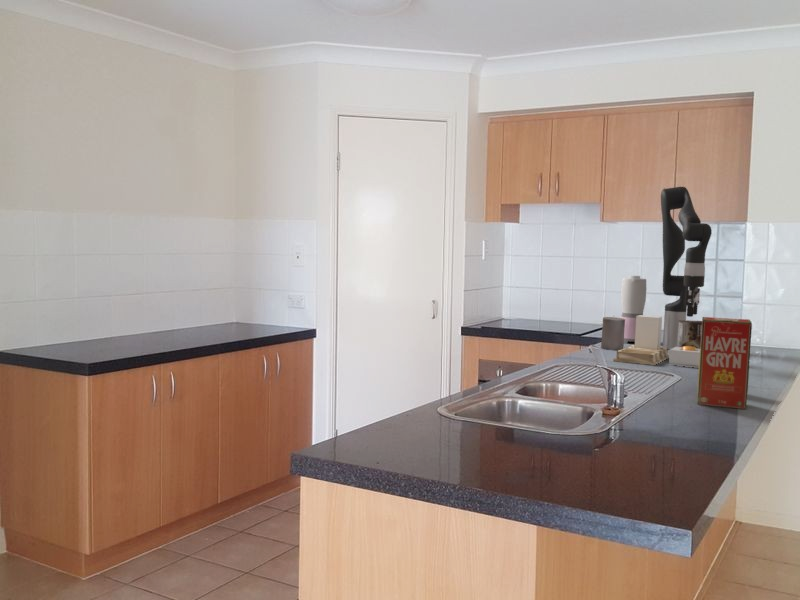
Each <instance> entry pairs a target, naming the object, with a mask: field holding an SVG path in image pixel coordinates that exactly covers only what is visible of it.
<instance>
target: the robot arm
mask: <svg viewBox="0 0 800 600" xmlns="http://www.w3.org/2000/svg"><path fill="white" fill-rule="evenodd" d="M660 206H661V216H662V218H661V219H662V257H663V260H662V261H663V269H662V270H663V271H662V292H663V294H664V295H665V296H669V297H671V296H672V297H679V298H678V299H677V300H676V301H673V302H670V303H666V304H665V306H664V318H663V319H664V320H663V337H662V348H668V350H670V349H672V348H674V347H677V346H678V327H679V320H687V317H690V318H691V317H693V316H695V315H697V314H698V308H699V307H698V306H699V304H700V293H701V289H700V288H704V286H705V276H706V274H705V273H706V266H705V265H706V263H705V261H706V252H707V248H708V245H709V242H710V239H711V237H712V230H713V229H712V227H711V225H710V224H709V223H702V222H701V218H700V217H699V215H698V214H697V213H696V211H695V210H696V209H695V208H694V205H693V202H692V198H691V195H690V193H689V190H688V188H687V187H686V186H675V187H669V188H663V189H662V190H661V193H660ZM671 210H679V212H678V221H679V223H680V225H681V226H682V229H681V228H680V227H679V226H678V225H677V223H676V221H675V220H674V219H673V217H672V215H671ZM687 241H688V242H699V243H698V244H697V245H696V246H691V247H688V248H686V242H687ZM685 250H686V251H685ZM684 253H685V264H684V270H683V271H684V274H683V275H677V274H676V275H672V271H673V269H674V267H675V265H677V263H678V261H679V260H680V259H681V257H682V256H683V255H684Z"/></svg>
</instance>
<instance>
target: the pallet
mask: <svg viewBox="0 0 800 600" xmlns="http://www.w3.org/2000/svg"><path fill="white" fill-rule="evenodd" d="M668 353H669V349H668V348H663V346H660V350H652V349H641V348H635V344H632V345H630V346H627V347H625V348H624V347H623V349H621V350H616V357H614V358H613V362H619V363H620V362H621V363H627V364H635V363H640V364H639V365H645V364H650V365H649V366H654V365H655V366H657V365H659V364H660V362H661V363H663V362H665V361H667V360H669V359H668V358H669V354H668ZM666 359H667V360H666ZM664 360H665V361H664ZM662 361H663V362H662ZM658 363H659V364H658ZM656 364H657V365H656Z"/></svg>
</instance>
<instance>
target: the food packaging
mask: <svg viewBox="0 0 800 600" xmlns="http://www.w3.org/2000/svg"><path fill="white" fill-rule="evenodd" d="M701 321H702V329H701V344H700V358H699V368H698V372H697V385H696V386H697V387H696V389H697V390H696V391H697V393H696V400H697V405H698V406H706V407H707V406H710V407H715V408H727V409H739V410H747V400H748V392H749V376H750V374H749V373H750V359H751V356H750V355H751V344H752V343H751V341H752V329H753V323H752V321H751V319H747V318H742V319H741V318H724V317H723V318H722V317H713V316H712V317H710V316H703V317H702V320H701Z"/></svg>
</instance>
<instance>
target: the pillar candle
mask: <svg viewBox="0 0 800 600" xmlns="http://www.w3.org/2000/svg"><path fill="white" fill-rule="evenodd" d="M624 329H625V319H624V318H621V317H616V316H605V317H604V316H603V318H602V329H601V343H600V344H601V345H600V349H602V350H606V351H607V350H608V351H609V350H610V351H619V350H621V349H624V344H625V343H624Z"/></svg>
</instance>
